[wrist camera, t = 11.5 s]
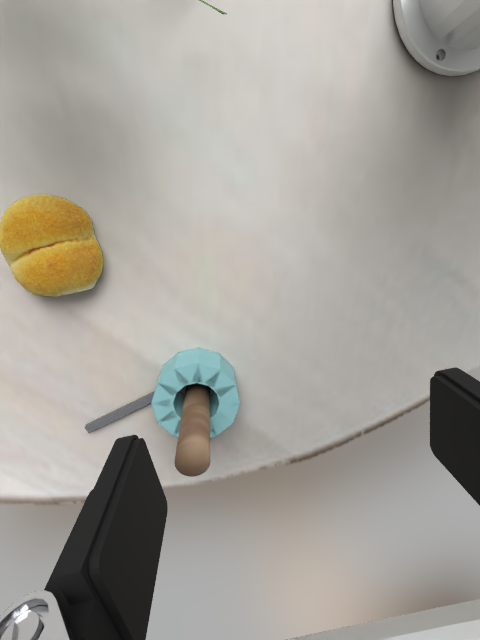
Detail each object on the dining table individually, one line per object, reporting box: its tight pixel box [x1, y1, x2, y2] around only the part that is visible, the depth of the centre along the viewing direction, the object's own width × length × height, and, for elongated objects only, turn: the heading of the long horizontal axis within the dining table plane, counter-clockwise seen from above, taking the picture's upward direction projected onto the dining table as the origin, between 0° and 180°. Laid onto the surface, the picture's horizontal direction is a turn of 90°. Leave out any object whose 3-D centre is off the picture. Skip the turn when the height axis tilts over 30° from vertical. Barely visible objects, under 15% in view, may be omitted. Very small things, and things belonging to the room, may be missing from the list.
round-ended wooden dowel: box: [175, 383, 210, 476], centre depth 29 cm, size 3×3×12 cm
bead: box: [151, 348, 240, 438], centre depth 33 cm, size 8×8×4 cm
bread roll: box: [0, 194, 103, 297], centre depth 27 cm, size 8×9×4 cm
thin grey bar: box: [85, 391, 155, 433], centre depth 34 cm, size 9×1×1 cm, turn 116°
